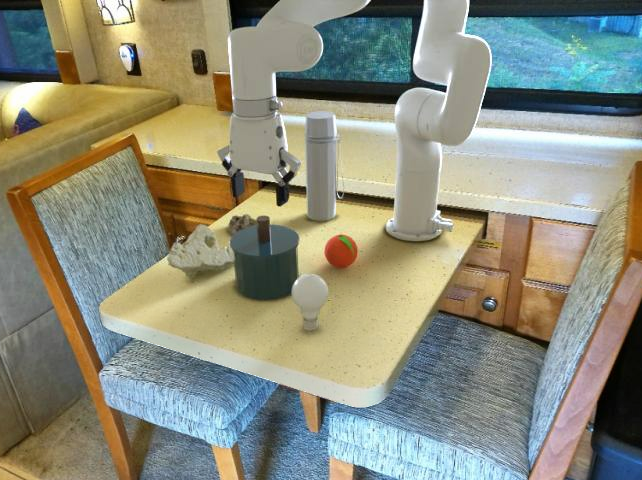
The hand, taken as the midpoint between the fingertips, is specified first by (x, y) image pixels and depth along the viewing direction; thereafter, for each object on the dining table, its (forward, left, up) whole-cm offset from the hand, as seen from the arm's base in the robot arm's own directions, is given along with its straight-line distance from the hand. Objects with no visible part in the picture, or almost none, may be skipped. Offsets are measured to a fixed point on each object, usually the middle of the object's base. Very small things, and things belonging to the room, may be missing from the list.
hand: (260, 199), depth 112 cm
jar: (0, 0, -19) cm, 19 cm away
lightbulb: (-16, +10, -19) cm, 26 cm away
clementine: (-11, -13, -19) cm, 25 cm away
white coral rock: (+14, +3, -19) cm, 24 cm away
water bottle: (+4, -34, -19) cm, 39 cm away
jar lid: (0, 0, -9) cm, 9 cm away
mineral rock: (+17, -19, -19) cm, 32 cm away
